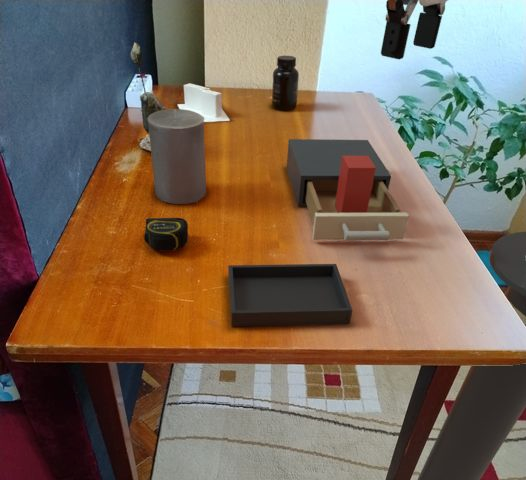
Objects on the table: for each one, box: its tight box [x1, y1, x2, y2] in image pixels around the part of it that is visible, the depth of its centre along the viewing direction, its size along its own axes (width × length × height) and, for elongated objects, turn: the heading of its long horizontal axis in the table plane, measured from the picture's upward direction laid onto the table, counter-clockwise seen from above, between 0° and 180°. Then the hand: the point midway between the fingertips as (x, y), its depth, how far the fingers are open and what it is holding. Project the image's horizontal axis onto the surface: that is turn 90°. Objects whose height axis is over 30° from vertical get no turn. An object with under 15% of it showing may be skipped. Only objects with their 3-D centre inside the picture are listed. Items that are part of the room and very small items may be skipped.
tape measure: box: [143, 217, 189, 252], centre depth 78 cm, size 7×7×4 cm
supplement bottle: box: [271, 55, 300, 112], centre depth 129 cm, size 7×7×12 cm
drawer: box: [304, 180, 410, 241], centre depth 85 cm, size 21×15×4 cm
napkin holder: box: [177, 82, 231, 123], centre depth 126 cm, size 15×11×6 cm
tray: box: [227, 263, 354, 328], centre depth 69 cm, size 16×11×2 cm
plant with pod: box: [130, 42, 167, 152], centre depth 102 cm, size 8×11×20 cm
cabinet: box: [286, 138, 392, 208], centre depth 96 cm, size 18×17×6 cm
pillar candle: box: [148, 108, 207, 205], centre depth 88 cm, size 10×10×15 cm
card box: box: [335, 156, 376, 213], centre depth 83 cm, size 4×5×9 cm
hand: (408, 51), depth 69 cm, fingers open, 9 cm apart
